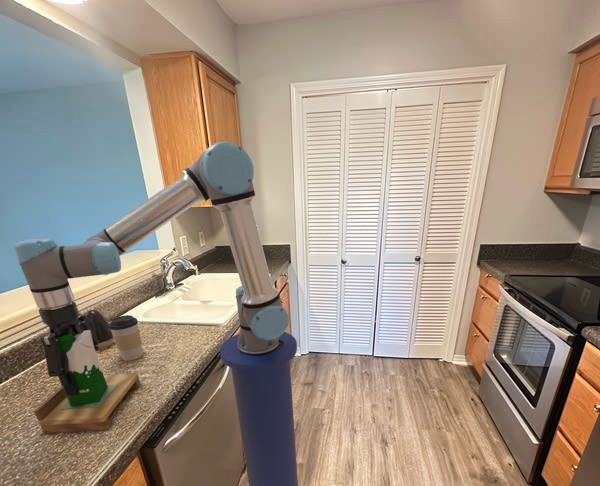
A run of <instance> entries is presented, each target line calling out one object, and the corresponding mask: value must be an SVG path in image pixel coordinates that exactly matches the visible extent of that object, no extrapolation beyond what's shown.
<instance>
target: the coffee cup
mask: <svg viewBox="0 0 600 486" xmlns="http://www.w3.org/2000/svg"><path fill="white" fill-rule="evenodd" d="M109 323H110V324H109V328H110V329H111V332H112V335H113V338H114V343H115V345H116V348H117V350H118V351H119V353H120V356H121V359H122V360H123V361H134V360H137V359H139V358H141V357H142V356H143V355H144V351H143V345H142V344H143V343H142V337H141V331H140V327H139V321H138V318H137V317H134V316H133V315H130V314H129V315H128V314H126V315H120V316H116V317H114V318H113V319H111V322H109Z"/></svg>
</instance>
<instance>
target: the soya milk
mask: <svg viewBox="0 0 600 486" xmlns="http://www.w3.org/2000/svg"><path fill="white" fill-rule="evenodd" d="M55 339H58V341H57V343H58V347H59V353H60V352H62V351H64V350H65V351H66V354H67V357H68V372H69V371H71V372H72V374H73V377H74V380H75V382H76V385H77V387H78V390H79V394H78V395H67V394H66V396H67V398H68V401H69V403H70V406H76V405H82V404H89V403H95V402H99V401H100V400H101V398H102V396H103V394H104V393H105V391H106V389H107V387H108V386H107V383H106V380H105V378H104V375H105V374H104V371H103V369H102V366H101V363H100V360H99V358H98V354H97V350H95V348H94V345H93V340H92V336H91V331H90V330H86V331H83V333H81V334H77V335H75V336H73V334H72V332H71V333H70V334H65V335H63V336H62V337H57V336H56V338H55ZM62 370H63V369H62ZM63 388H64V386H63ZM64 391H65V389H64ZM65 393H66V391H65Z"/></svg>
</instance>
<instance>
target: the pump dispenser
mask: <svg viewBox="0 0 600 486" xmlns="http://www.w3.org/2000/svg"><path fill="white" fill-rule="evenodd" d="M81 315H85V316H86V319H87V322H88V324H89V326H90V328H91V329H92V331H93V333H94V335H95V336H96V338H97V340H98V342H99V344H98V345H96V346H98V347H99V349H98V350H104V349H106V348H108V347H110V346H111V345H112V344H113V343H114V342H115V340H114V338H113V335H112V332H111V329H110V328H109V324H110V323H111V322H110V321H108V319H107V318H106V316H105V315H104V314H102V312H100V311H99V310H97V309H89V310H87V311H86V312H85V313H84V314H82V313H79V316H81Z"/></svg>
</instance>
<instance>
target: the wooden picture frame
mask: <svg viewBox="0 0 600 486" xmlns="http://www.w3.org/2000/svg"><path fill="white" fill-rule="evenodd" d="M103 375H104V378H105V380H106V383H107V386H108V387H107V389H106V391H105V393H104V394H103V396H102V398H101V400H100V401H99V402H95V403H89V404H82V405H76V406H70V403H69V401H68V398H67V396H66V393H65V391H64V388H63V386H62V385H61V386H60V387H59V388H58V389H56V390H55V392H53V393H52V394H51V395H50V396H48V397H47V399H45V400H44V401H43V402H42V403H41V404H40V405H39V406H38V407H36V409H34V410H33V413H34V415H35V417H36V419H37V421H38V424H39V426H40V428H41V430H42V432H43V434H52V433H53V434H54V433H55V434H56V433H71V432H72V433H75V432H90V431H91V432H93V431H107V430H108V429H109V428H110V426H111V421H110V418H109V416H110V415H111V414H112V412H113V411H114V410H115V409H116V408H117V406H118V404H119V403H120V402H121V401H122V400H123V398H124V397H125V396H126V395H127V393H128V392H129V390H130V389H138V388H139V387H140V386H141V381H140V377H139V374H138V373H120V374H103Z"/></svg>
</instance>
